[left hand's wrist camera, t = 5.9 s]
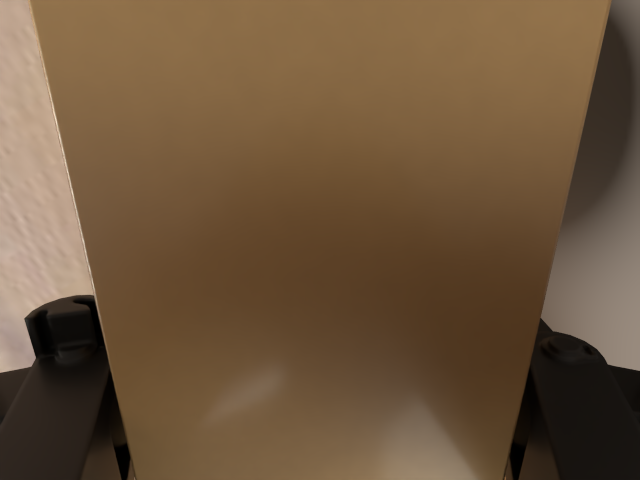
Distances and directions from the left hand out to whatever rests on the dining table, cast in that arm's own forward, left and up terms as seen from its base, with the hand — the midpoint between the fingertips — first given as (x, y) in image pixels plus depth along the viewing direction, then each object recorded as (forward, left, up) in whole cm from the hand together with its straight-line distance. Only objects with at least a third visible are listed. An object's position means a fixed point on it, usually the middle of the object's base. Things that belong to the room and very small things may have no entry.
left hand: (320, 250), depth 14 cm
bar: (+8, 0, -1) cm, 8 cm away
